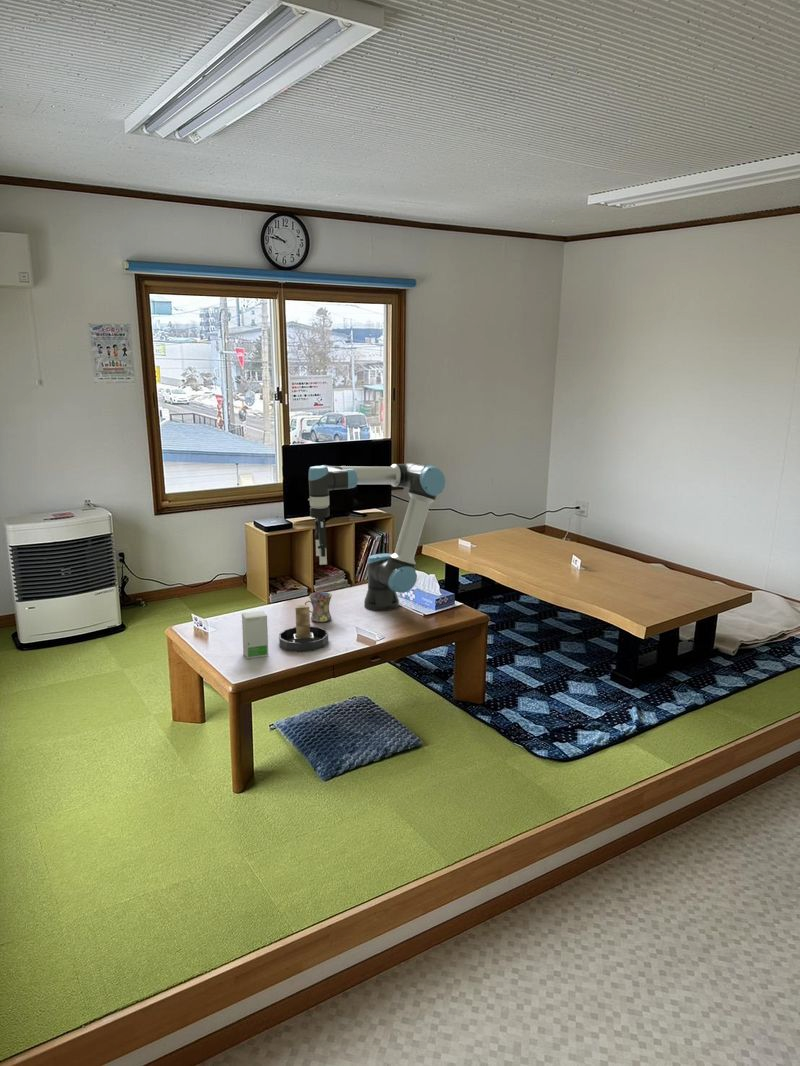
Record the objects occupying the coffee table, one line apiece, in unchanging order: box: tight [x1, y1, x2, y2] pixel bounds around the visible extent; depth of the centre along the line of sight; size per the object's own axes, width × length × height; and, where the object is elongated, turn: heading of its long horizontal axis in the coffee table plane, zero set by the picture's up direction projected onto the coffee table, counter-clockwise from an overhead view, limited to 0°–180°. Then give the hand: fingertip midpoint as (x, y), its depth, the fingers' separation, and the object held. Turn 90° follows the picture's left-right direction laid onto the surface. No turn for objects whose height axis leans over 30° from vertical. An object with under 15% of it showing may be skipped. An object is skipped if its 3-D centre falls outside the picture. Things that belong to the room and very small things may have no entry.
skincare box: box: [241, 610, 269, 660], centre depth 272 cm, size 8×7×16 cm
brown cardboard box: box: [294, 604, 311, 638], centre depth 283 cm, size 5×3×14 cm, turn 102°
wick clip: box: [293, 633, 314, 643], centre depth 284 cm, size 8×5×2 cm
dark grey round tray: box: [278, 625, 329, 653], centre depth 284 cm, size 18×18×4 cm
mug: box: [304, 591, 333, 623], centre depth 308 cm, size 12×9×11 cm
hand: (321, 560), depth 293 cm, fingers open, 13 cm apart
